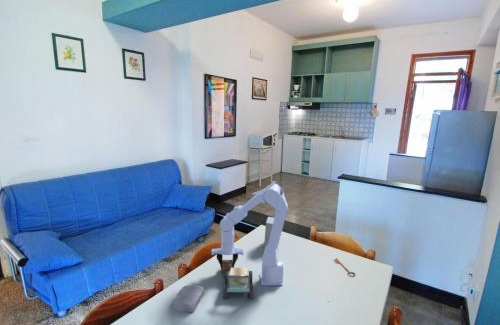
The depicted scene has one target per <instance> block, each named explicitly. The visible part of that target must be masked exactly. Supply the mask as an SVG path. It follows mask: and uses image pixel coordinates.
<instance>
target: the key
mask: <svg viewBox="0 0 500 325" xmlns="http://www.w3.org/2000/svg"><path fill="white" fill-rule="evenodd" d="M332 260H333V262H334V263H335V264H336V265H341V266H342V268H344V270H345V271H347V276H348V277H349V278H350V277H352V278H354V277H355V276H356V273H355V272H352V271H350V270H349V268H347V267H346V266H345V265H344V264H343V263H342V262H341V261H340V260H339V259H338V258H335V259H332ZM351 274H353V275H351Z"/></svg>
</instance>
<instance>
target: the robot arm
mask: <svg viewBox="0 0 500 325" xmlns="http://www.w3.org/2000/svg"><path fill="white" fill-rule="evenodd" d="M260 203H261V204H266V203H267V204H269V205H270V206H272V207H273V208H274V209H275V214H274V217H273V218H274V221H273V226H272V230H271V234H270V238H269V242H268V244H267V245H266V247H265V248H264V252H263V255H262V257H261V261H262V263H261V273H259V275H260V276H259V277H260V285H261V286H283V285H284V283H283V281H284V280H283V279H284V264H283V261H282V260H279V259H278V254H279V243H280V240H281V236H282V232H283V228H284V224H285V220H286V217H287V212H288V207H289V204H288V202H287V199H286V197H285V192H284V190H283V189H282V187H281V186H280V185H279V184H278V183H276V182H273V184H272V185H271V186H269V187H268V188H267V189H265V190H263V191H261V192H258V193H255V194H254V195H253V196H252V197H251V198H250V199H249V200H248V201H247V202H246V203H244V204H243V205H235V206H234V207H233V210H231V211H230V212H227V213H226V214H225V215H224V217H223V218H222V219H221V220H220V221H219V228H220V230H221V233H220V234H221V236H220V237H221V240H220V242H221V244H220V245H221V247H218V248H212V249H211V256H214V255H216V260H217V262H218V263H219V267H220V270H222V261H223V260H224V259H223V256H231V255H232V260H233V263H232V268H235V265H236V262H237V261H238V259H239V255H241V256H244V249H243V248H236V247H235V225H237V224H239V223H240V222H241V221H242V220H244V219H245V218H246V217H247V216H248V212H249V211H250V210H252V209H254V207H256V206H257V205H259V204H260Z"/></svg>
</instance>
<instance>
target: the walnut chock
mask: <svg viewBox="0 0 500 325" xmlns="http://www.w3.org/2000/svg"><path fill="white" fill-rule="evenodd" d="M222 260H223V261H222V269H221V276H222V277H225V271H228V272H229V270H231V268H232V263H233V259H222Z"/></svg>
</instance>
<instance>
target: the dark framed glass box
mask: <svg viewBox="0 0 500 325" xmlns="http://www.w3.org/2000/svg"><path fill="white" fill-rule="evenodd" d="M228 293H249V299H250V298H251V299H253V298H254V284H253V270H248V268H247V267H234V268H231V270H229V272H228V271H225V276H224V284H223V292H222V294H223V298H224V299H228Z"/></svg>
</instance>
